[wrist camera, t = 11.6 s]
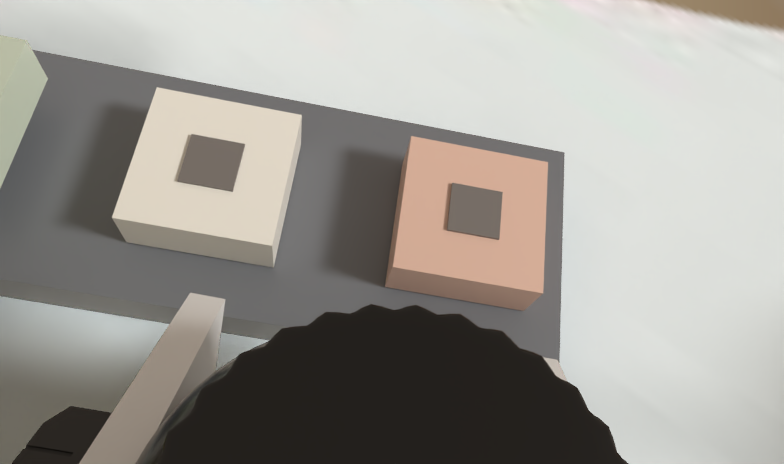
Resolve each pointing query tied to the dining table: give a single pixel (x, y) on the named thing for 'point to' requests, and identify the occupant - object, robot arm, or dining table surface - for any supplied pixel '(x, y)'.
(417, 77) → the dining table surface
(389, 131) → the board
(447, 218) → the key
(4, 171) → the key
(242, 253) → the key mid
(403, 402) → the supplement bottle
